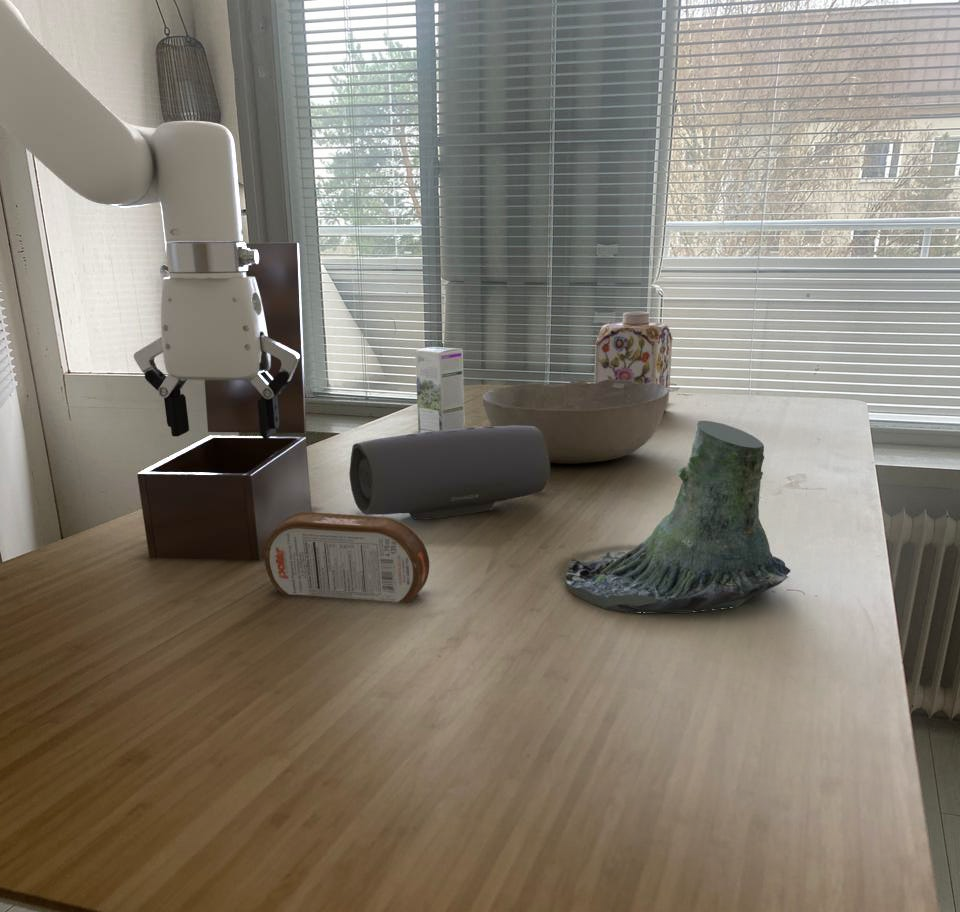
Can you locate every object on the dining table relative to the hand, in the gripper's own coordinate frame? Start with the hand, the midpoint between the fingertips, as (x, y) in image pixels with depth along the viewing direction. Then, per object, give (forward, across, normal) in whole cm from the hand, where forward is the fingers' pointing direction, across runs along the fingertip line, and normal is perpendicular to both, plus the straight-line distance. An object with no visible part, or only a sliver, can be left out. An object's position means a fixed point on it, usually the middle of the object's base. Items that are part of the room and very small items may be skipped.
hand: (224, 434), depth 103 cm
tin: (+12, -17, +19) cm, 28 cm away
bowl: (+12, -36, -48) cm, 61 cm away
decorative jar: (+12, -46, -87) cm, 99 cm away
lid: (-9, 0, -11) cm, 14 cm away
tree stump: (+12, -47, +11) cm, 50 cm away
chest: (+12, 0, 0) cm, 12 cm away
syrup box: (+12, -14, -60) cm, 63 cm away
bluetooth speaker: (+12, -22, -14) cm, 29 cm away
